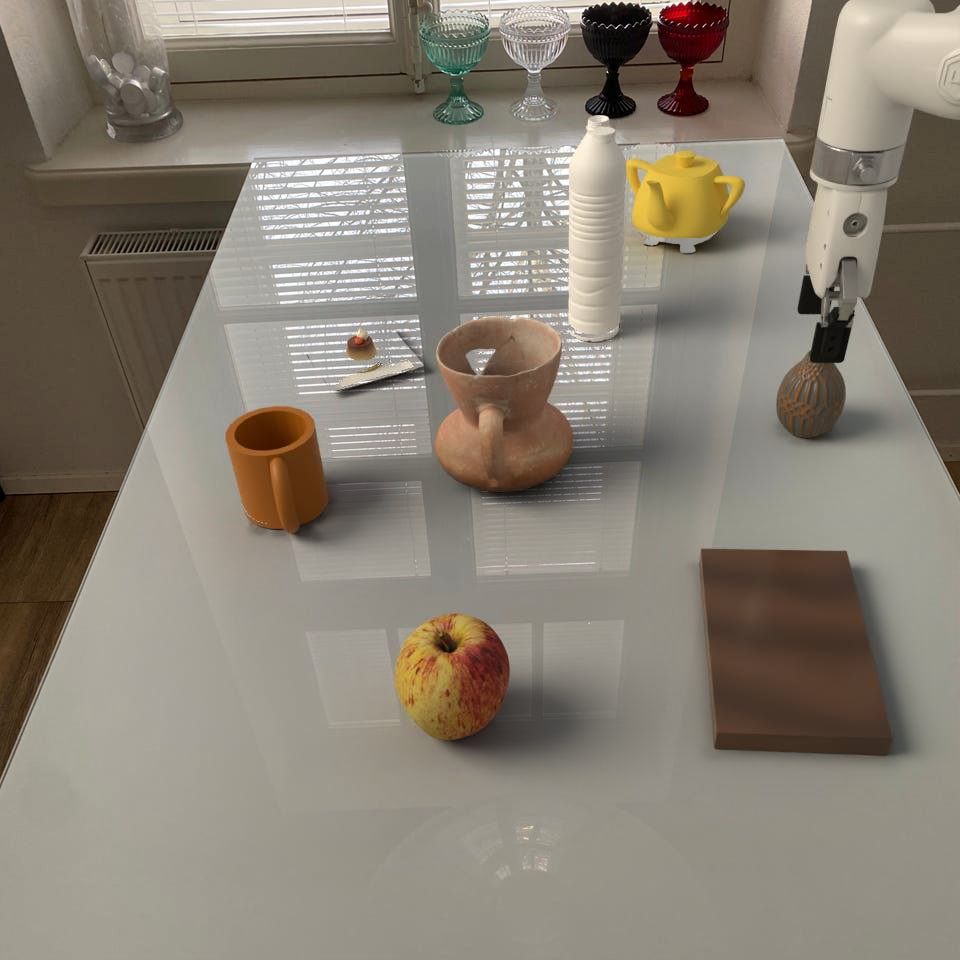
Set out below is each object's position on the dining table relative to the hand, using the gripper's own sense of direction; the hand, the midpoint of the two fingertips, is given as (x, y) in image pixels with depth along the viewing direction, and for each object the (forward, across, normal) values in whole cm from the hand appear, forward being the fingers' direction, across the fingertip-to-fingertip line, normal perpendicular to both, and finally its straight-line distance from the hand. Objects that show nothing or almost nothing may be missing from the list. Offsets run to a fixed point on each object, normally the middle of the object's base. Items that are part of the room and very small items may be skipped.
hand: (819, 336), depth 100 cm
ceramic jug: (+11, -8, +32) cm, 34 cm away
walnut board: (+10, -34, +6) cm, 36 cm away
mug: (+12, -16, +54) cm, 57 cm away
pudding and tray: (+12, +14, +51) cm, 54 cm away
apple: (+11, -43, +32) cm, 55 cm away
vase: (+11, 0, 0) cm, 11 cm away
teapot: (+11, +47, +12) cm, 50 cm away
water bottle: (+11, +21, +22) cm, 33 cm away
